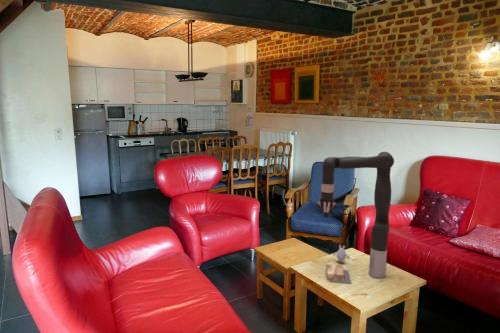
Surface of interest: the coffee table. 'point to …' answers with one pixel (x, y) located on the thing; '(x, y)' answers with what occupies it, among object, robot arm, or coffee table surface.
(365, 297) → the coffee table surface
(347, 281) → the felt mat
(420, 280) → the coffee table surface
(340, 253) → the toy figure
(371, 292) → the coffee table surface
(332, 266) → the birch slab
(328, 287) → the coffee table surface
